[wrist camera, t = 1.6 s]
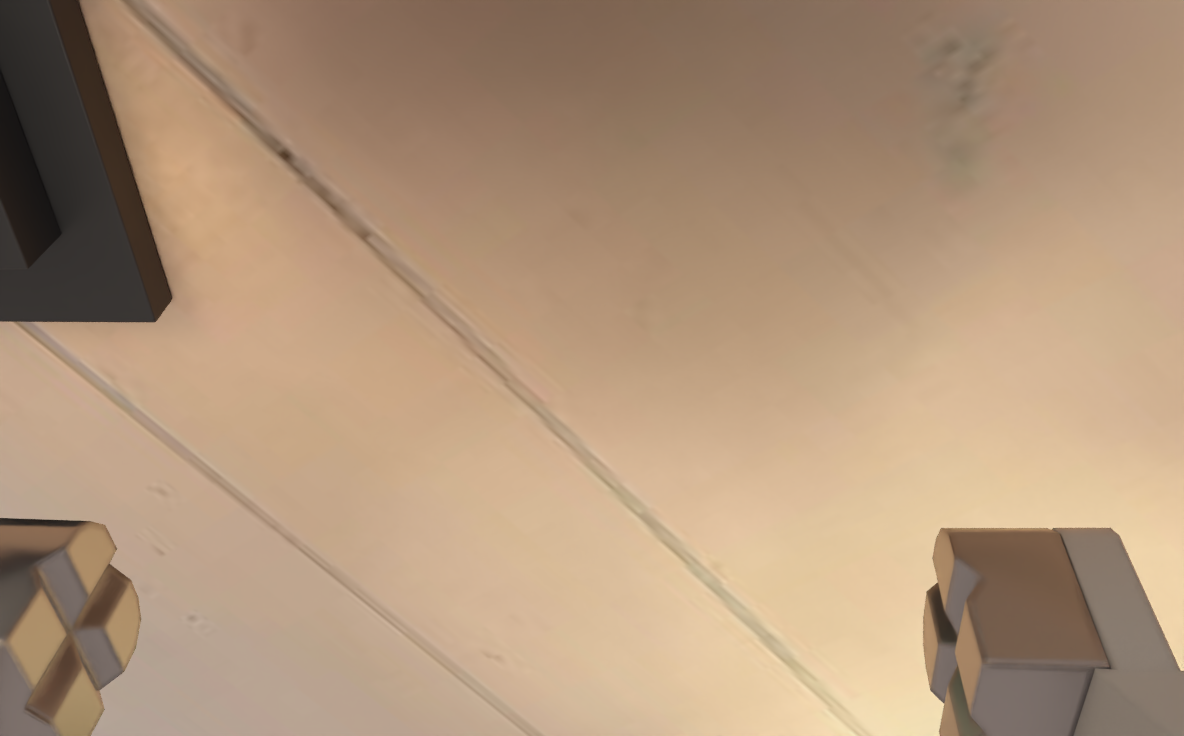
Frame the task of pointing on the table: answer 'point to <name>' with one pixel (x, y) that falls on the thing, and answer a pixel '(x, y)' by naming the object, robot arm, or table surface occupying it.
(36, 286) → the dark grey stepped base
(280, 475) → the table surface
